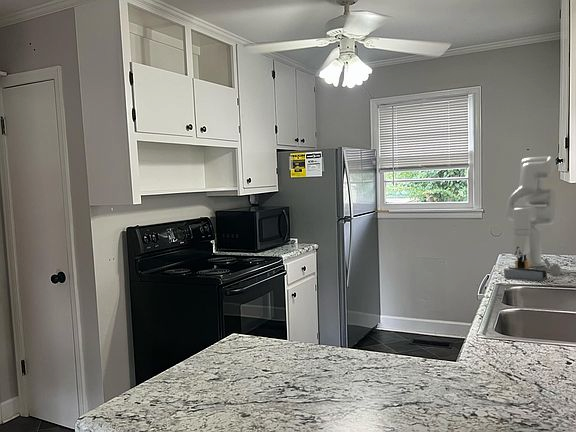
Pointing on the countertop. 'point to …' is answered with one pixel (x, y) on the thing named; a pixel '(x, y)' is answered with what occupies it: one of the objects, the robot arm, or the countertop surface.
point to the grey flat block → (525, 273)
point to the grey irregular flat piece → (553, 268)
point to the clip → (525, 264)
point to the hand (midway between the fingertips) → (522, 268)
